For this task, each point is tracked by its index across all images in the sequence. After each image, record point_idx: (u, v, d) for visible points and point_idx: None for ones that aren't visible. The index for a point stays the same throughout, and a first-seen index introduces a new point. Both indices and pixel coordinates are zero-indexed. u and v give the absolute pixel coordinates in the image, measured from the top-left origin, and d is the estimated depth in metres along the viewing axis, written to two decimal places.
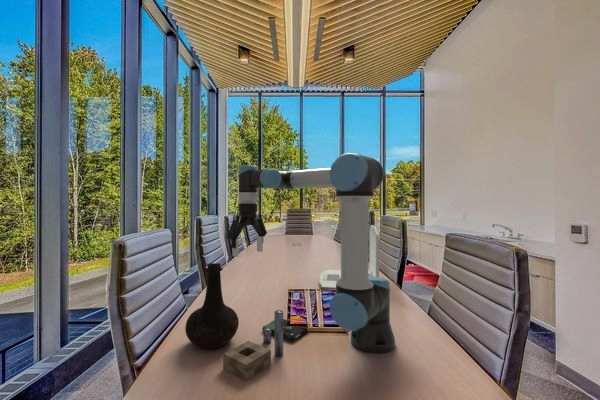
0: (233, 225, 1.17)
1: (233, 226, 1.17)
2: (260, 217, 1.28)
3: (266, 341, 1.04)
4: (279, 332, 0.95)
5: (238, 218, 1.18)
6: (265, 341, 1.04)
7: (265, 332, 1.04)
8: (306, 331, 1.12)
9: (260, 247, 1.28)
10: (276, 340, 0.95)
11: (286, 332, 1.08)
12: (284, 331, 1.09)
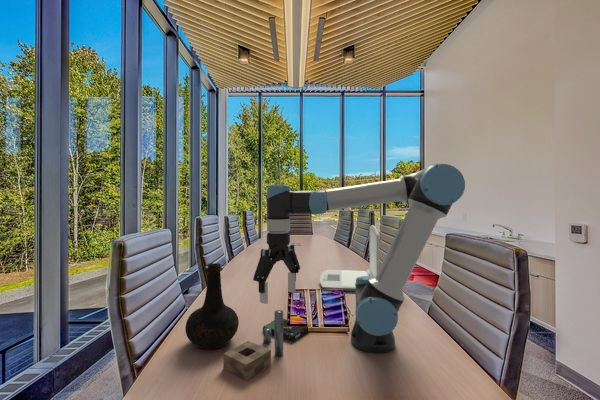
0: (261, 263, 0.90)
1: (261, 264, 0.90)
2: (293, 249, 1.01)
3: (266, 341, 1.04)
4: (279, 332, 0.95)
5: (267, 254, 0.91)
6: (265, 341, 1.04)
7: (265, 332, 1.04)
8: (306, 331, 1.12)
9: (292, 287, 1.01)
10: (276, 340, 0.95)
11: (286, 332, 1.09)
12: (284, 331, 1.09)
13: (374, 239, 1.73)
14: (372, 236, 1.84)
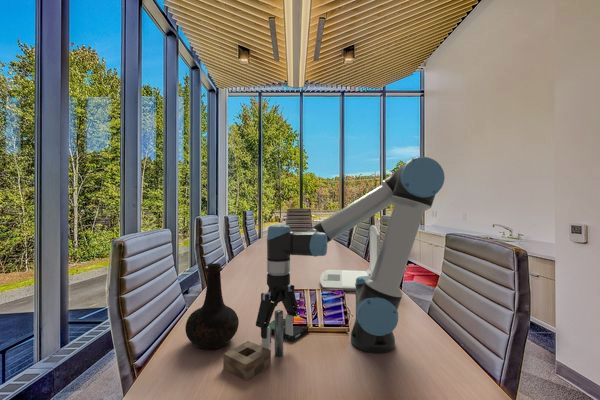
0: (262, 309, 0.90)
1: (262, 310, 0.90)
2: (292, 289, 1.00)
3: None
4: (279, 332, 0.95)
5: (268, 298, 0.91)
6: None
7: None
8: (306, 331, 1.12)
9: (290, 330, 1.00)
10: (276, 340, 0.95)
11: None
12: (284, 331, 1.09)
13: (374, 239, 1.73)
14: (372, 236, 1.84)
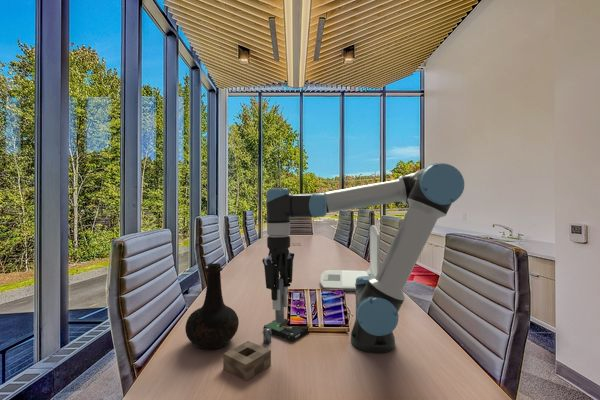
0: (267, 273, 0.92)
1: (268, 274, 0.92)
2: (292, 257, 1.00)
3: (266, 341, 1.04)
4: None
5: (270, 262, 0.91)
6: (265, 341, 1.04)
7: (265, 332, 1.04)
8: (306, 331, 1.11)
9: (284, 301, 0.97)
10: None
11: (286, 332, 1.09)
12: (284, 331, 1.10)
13: None
14: None
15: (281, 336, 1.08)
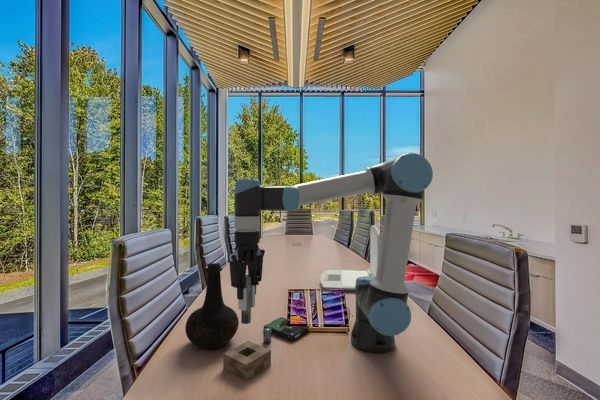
0: (232, 270, 0.85)
1: (233, 271, 0.85)
2: (262, 254, 0.93)
3: (266, 341, 1.04)
4: None
5: (235, 259, 0.84)
6: (265, 341, 1.04)
7: (265, 332, 1.04)
8: (307, 331, 1.11)
9: (252, 301, 0.90)
10: None
11: (286, 332, 1.09)
12: (284, 330, 1.10)
13: (375, 239, 1.73)
14: (373, 236, 1.84)
15: (281, 336, 1.08)
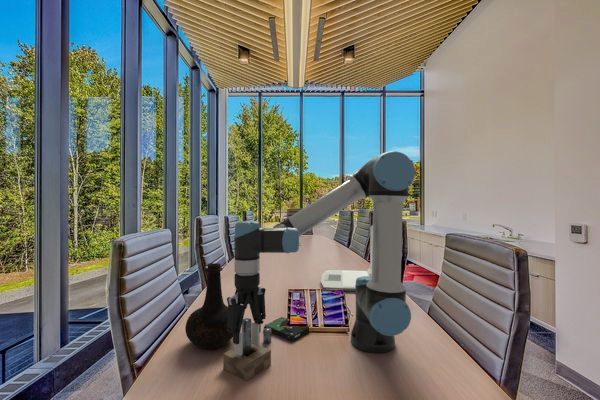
0: (230, 314, 0.84)
1: (231, 315, 0.84)
2: (263, 293, 0.93)
3: (266, 341, 1.04)
4: (246, 342, 0.88)
5: (234, 302, 0.84)
6: (265, 341, 1.04)
7: (265, 332, 1.04)
8: (307, 331, 1.11)
9: (256, 339, 0.91)
10: (243, 351, 0.88)
11: (286, 331, 1.09)
12: (284, 330, 1.10)
13: None
14: None
15: (281, 336, 1.08)
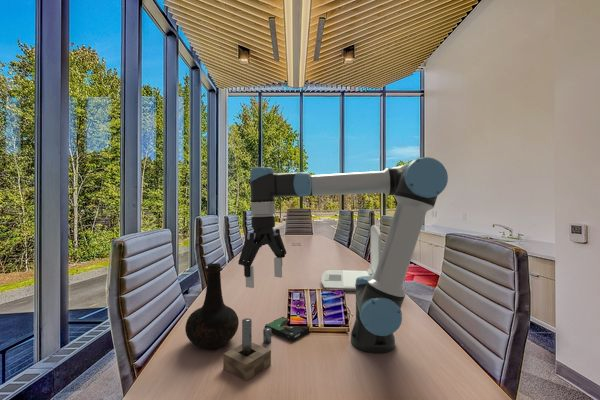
0: (246, 247, 0.88)
1: (246, 248, 0.88)
2: (278, 233, 0.99)
3: (266, 341, 1.04)
4: (246, 342, 0.88)
5: (252, 237, 0.89)
6: (265, 341, 1.04)
7: (265, 332, 1.04)
8: (307, 331, 1.11)
9: (279, 272, 1.00)
10: (243, 351, 0.88)
11: (286, 331, 1.09)
12: (284, 330, 1.10)
13: None
14: (373, 236, 1.84)
15: (281, 335, 1.08)
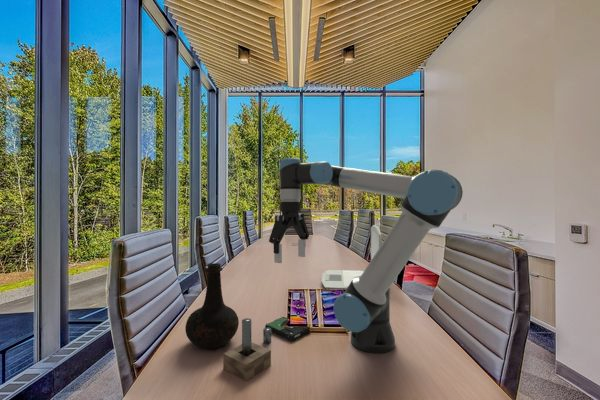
0: (275, 227, 1.01)
1: (276, 228, 1.01)
2: (303, 217, 1.12)
3: (266, 341, 1.04)
4: (246, 342, 0.88)
5: (281, 219, 1.02)
6: (265, 341, 1.04)
7: (265, 332, 1.04)
8: (307, 331, 1.11)
9: (302, 252, 1.12)
10: (243, 351, 0.88)
11: (286, 331, 1.09)
12: (285, 330, 1.10)
13: (376, 239, 1.73)
14: (374, 236, 1.84)
15: (281, 335, 1.09)
